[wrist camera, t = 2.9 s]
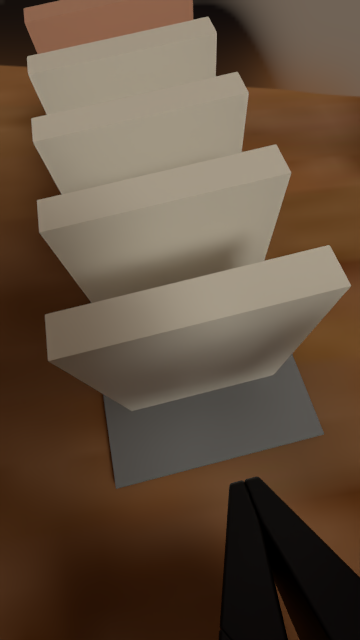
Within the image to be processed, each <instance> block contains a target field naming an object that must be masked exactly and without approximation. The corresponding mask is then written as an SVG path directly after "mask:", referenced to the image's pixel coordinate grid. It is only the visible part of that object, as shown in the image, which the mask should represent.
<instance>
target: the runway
mask: <svg viewBox="0 0 360 640" xmlns="http://www.w3.org/2000/svg"><path fill="white" fill-rule="evenodd" d="M103 397H104V404H105V412H106V419H107V426H108V434H109V441H110V448H111V455H112V463H113V470H114V477H115V485H116V489H117V488H121V487H125V486H128V485H132V484H136V483H140V482H144V481H147V480H151V479H155V478H159V477H163V476H167V475H170V474H174V473H178V472H182V471H186V470H190V469H193V468H197V467H201V466H205V465H209V464H212V463H216V462H220V461H224V460H228V459H232V458H235V457H239V456H243V455H247V454H251V453H254V452H258V451H262V450H266V449H270V448H274V447H277V446H281V445H285V444H289V443H293V442H296V441H300V440H304V439H308V438H312V437H316V436H319V435H323V434H324V432H323V430H322V428H321V425H320V423H319V420H318V418H317V415H316V413H315V410H314V408H313V405H312V403H311V400H310V398H309V395H308V393H307V390H306V388H305V385H304V383H303V380H302V378H301V375H300V373H299V370H298V368H297V365H296V363H295V360H294V358H293V355H292V354H291V355H290V357H289V358H288V359H287V360H286V361H285V362H284V363H283V365H282V366H281V367H280V368H279V369H278V370H277V371H276V373H275V374H274V375H272V376H268V377H264V378H260V379H256V380H252V381H248V382H244V383H240V384H236V385H233V386H229V387H225V388H221V389H217V390H213V391H209V392H205V393H201V394H197V395H193V396H189V397H185V398H182V399H178V400H174V401H170V402H166V403H162V404H158V405H154V406H150V407H146V408H142V409H138V410H134V411H131V410H129V409H127V408H126V407H124V406H122V405H121V404H119V403H117V402H116V401H114V400H112V399H111V398H109V397H107V396H105V395H104V394H103Z"/></svg>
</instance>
